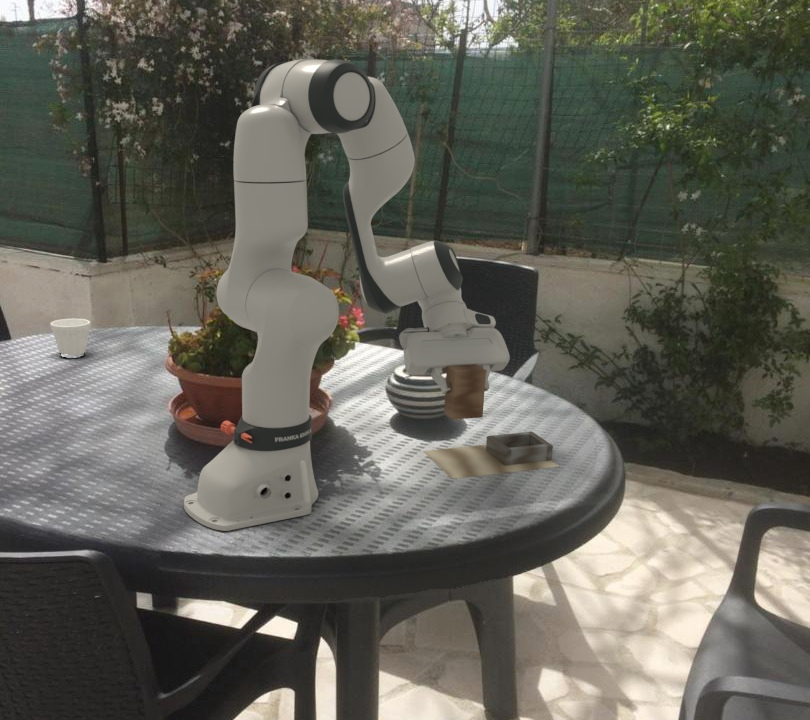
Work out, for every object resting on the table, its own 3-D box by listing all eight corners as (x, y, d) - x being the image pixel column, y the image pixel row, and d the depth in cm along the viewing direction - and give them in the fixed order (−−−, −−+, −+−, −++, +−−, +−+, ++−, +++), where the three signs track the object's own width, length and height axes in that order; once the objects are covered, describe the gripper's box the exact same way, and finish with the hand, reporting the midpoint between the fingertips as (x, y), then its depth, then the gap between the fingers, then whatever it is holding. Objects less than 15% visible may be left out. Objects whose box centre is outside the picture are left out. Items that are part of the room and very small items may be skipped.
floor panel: (451, 486, 149) (453, 463, 148) (422, 458, 161) (423, 436, 160) (559, 473, 156) (561, 451, 155) (523, 447, 169) (525, 426, 168)
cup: (78, 349, 230) (75, 316, 228) (100, 355, 225) (98, 322, 222) (44, 356, 222) (42, 322, 220) (67, 363, 217) (64, 328, 214)
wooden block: (452, 419, 151) (455, 371, 149) (444, 412, 154) (446, 366, 152) (482, 417, 153) (486, 370, 151) (473, 410, 157) (476, 364, 154)
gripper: (401, 319, 152) (418, 385, 146) (501, 316, 159) (522, 379, 153) (392, 337, 157) (408, 402, 151) (489, 334, 164) (508, 396, 158)
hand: (466, 391), depth 152 cm, fingers closed on wooden block, 6 cm apart
